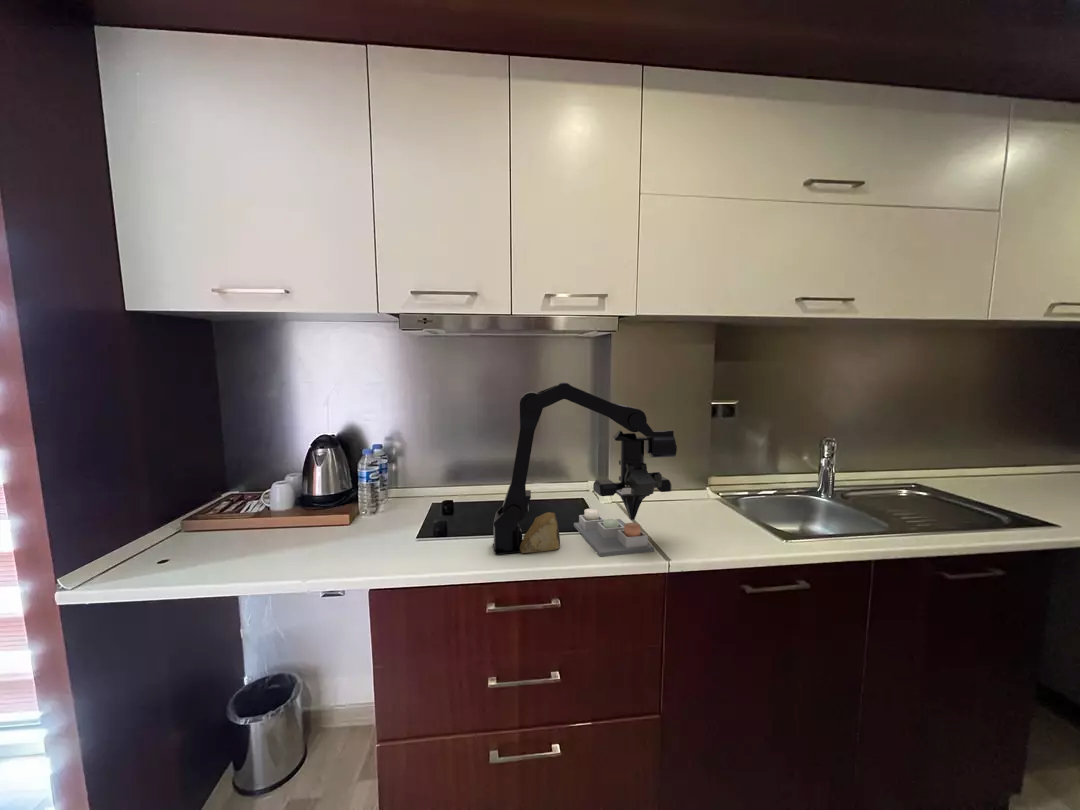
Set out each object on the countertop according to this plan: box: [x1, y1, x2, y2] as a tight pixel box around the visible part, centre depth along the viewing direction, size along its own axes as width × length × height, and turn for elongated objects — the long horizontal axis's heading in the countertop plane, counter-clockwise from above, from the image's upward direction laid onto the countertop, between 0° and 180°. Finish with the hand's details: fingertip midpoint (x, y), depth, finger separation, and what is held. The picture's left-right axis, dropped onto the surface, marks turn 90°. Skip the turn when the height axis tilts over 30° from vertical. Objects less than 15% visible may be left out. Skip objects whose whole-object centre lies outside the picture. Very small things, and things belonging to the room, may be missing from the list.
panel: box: [573, 514, 655, 558], centre depth 121 cm, size 14×22×4 cm, turn 12°
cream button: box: [583, 507, 600, 521], centre depth 127 cm, size 4×4×3 cm
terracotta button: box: [624, 522, 642, 537], centre depth 114 cm, size 4×4×3 cm
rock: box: [519, 511, 561, 554], centre depth 114 cm, size 11×9×10 cm
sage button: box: [603, 518, 619, 529], centre depth 120 cm, size 4×4×3 cm
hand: (632, 519), depth 114 cm, fingers closed
